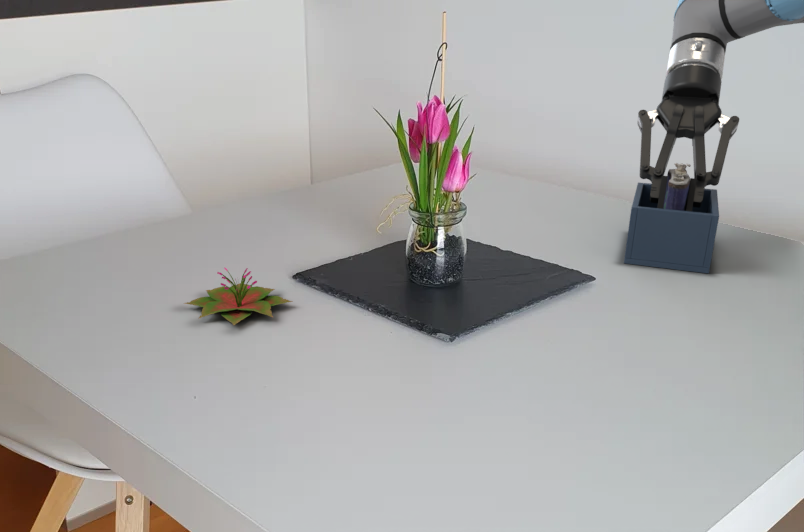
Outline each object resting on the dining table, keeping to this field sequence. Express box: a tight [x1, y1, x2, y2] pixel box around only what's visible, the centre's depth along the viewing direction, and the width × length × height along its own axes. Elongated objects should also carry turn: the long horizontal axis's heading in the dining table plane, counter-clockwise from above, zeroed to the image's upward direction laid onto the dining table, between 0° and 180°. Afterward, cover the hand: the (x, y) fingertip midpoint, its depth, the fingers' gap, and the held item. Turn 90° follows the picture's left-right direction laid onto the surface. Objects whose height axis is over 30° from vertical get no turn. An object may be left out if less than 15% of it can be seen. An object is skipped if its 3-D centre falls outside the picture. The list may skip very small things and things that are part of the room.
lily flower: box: [183, 267, 294, 326], centre depth 96 cm, size 12×12×5 cm
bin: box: [623, 182, 720, 274], centre depth 114 cm, size 11×14×8 cm
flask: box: [663, 162, 691, 211], centre depth 113 cm, size 9×3×11 cm, turn 161°
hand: (672, 224), depth 111 cm, fingers closed on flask, 3 cm apart
